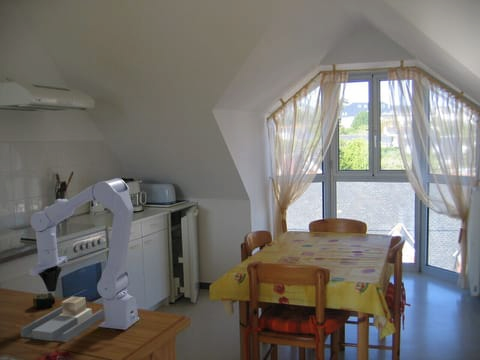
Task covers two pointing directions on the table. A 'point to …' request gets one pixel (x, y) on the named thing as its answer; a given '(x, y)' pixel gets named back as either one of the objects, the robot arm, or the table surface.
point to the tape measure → (43, 300)
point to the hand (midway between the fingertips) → (51, 291)
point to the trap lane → (60, 325)
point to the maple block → (74, 306)
